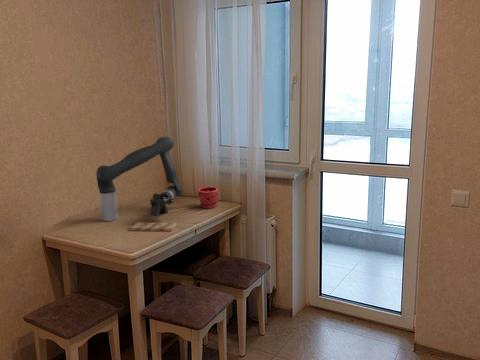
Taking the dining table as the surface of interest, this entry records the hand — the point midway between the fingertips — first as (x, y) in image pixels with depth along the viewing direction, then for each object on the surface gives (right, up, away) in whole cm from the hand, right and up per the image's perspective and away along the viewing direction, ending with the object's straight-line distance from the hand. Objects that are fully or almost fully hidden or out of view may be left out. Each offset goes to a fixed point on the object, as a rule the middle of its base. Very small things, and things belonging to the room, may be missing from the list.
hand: (157, 204), depth 244 cm
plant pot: (+28, -4, +33) cm, 44 cm away
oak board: (-1, -13, -7) cm, 15 cm away
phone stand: (0, -6, +4) cm, 7 cm away
